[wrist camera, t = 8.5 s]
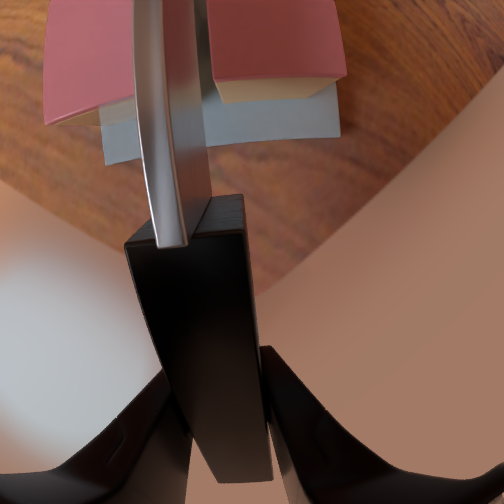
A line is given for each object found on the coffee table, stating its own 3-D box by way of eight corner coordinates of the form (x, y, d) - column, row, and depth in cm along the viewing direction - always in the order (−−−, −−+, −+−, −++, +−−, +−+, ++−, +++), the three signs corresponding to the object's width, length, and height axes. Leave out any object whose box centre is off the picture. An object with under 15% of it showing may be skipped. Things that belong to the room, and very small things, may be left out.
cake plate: (107, -13, 9) (57, -60, 3) (307, -40, 9) (337, -102, 3) (112, 164, 14) (41, 183, 8) (335, 137, 14) (398, 139, 8)
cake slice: (211, -25, 9) (201, -86, 4) (287, -28, 9) (308, -87, 4) (223, 104, 12) (212, 79, 7) (306, 99, 12) (348, 75, 7)
